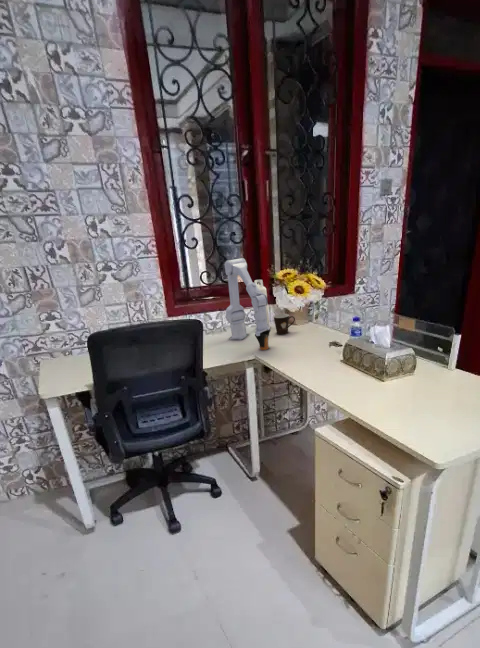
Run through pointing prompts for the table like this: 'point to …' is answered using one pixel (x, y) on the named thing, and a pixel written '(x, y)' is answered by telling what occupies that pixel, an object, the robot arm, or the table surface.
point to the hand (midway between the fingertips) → (263, 345)
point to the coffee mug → (282, 323)
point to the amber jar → (265, 343)
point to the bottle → (263, 290)
